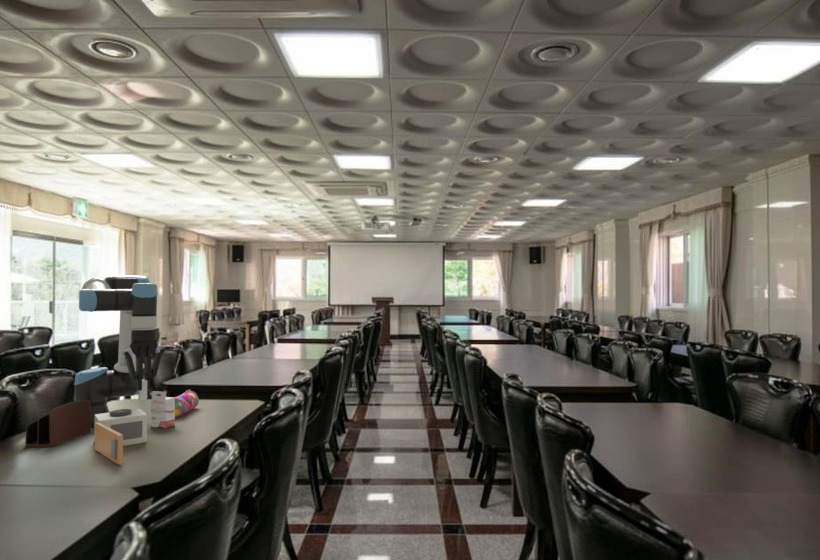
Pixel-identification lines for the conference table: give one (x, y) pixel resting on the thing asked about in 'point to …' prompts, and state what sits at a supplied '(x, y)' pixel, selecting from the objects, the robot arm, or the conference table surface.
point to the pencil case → (185, 402)
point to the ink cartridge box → (162, 410)
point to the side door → (109, 443)
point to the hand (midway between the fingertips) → (143, 399)
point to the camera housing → (126, 424)
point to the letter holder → (60, 425)
